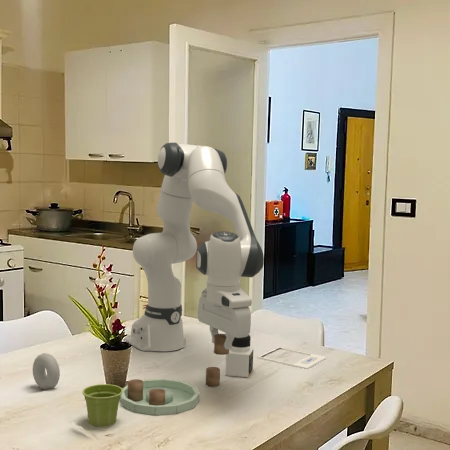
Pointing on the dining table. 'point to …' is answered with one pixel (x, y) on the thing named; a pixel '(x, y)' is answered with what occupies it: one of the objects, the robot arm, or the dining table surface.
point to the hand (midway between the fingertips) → (221, 346)
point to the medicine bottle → (240, 358)
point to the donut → (40, 375)
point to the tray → (176, 406)
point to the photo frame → (303, 363)
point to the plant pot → (102, 403)
